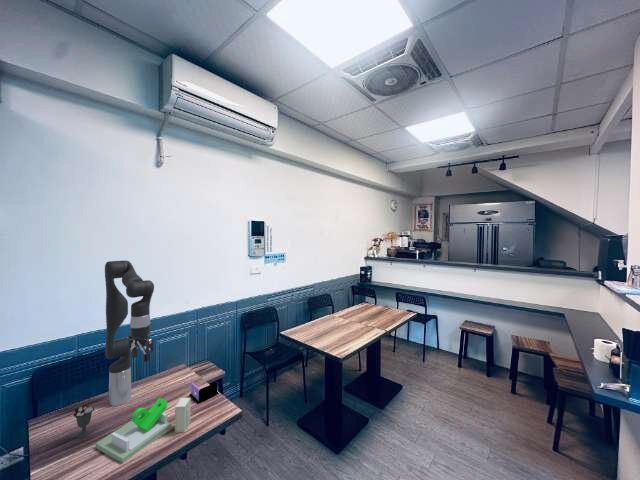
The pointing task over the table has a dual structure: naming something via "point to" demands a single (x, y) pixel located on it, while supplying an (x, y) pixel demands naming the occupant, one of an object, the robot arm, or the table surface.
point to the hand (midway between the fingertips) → (140, 359)
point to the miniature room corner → (203, 392)
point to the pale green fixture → (131, 439)
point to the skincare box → (182, 415)
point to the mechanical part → (149, 415)
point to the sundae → (83, 419)
